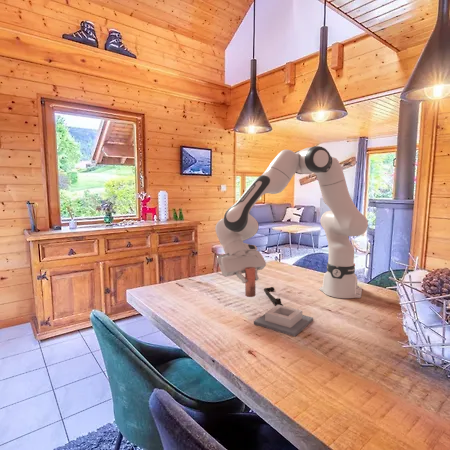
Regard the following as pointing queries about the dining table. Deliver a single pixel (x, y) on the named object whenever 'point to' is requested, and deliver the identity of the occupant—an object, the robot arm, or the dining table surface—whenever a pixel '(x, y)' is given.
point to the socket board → (285, 329)
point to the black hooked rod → (275, 301)
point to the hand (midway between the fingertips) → (251, 281)
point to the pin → (250, 282)
